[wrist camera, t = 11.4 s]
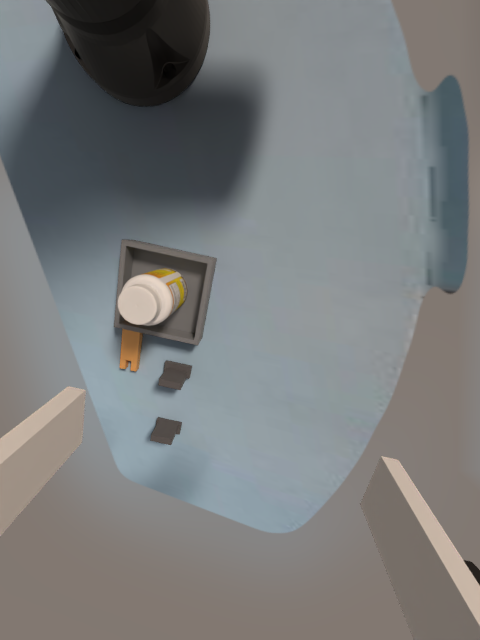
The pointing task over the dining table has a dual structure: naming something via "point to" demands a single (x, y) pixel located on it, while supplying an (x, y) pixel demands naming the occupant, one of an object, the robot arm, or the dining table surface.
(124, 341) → the fuse puller tool
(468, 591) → the robot arm
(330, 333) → the dining table surface
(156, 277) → the supplement bottle
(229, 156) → the dining table surface
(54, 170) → the dining table surface
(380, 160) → the dining table surface
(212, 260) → the parts tray
